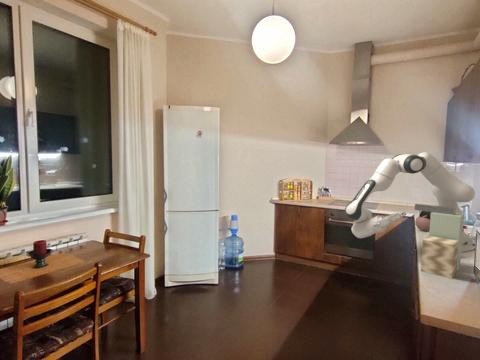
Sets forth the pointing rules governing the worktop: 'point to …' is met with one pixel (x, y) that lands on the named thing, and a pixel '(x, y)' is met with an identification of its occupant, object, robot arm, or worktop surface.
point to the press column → (448, 229)
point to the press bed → (439, 256)
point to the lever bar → (436, 209)
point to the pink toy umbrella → (423, 223)
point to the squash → (425, 214)
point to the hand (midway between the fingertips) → (403, 214)
